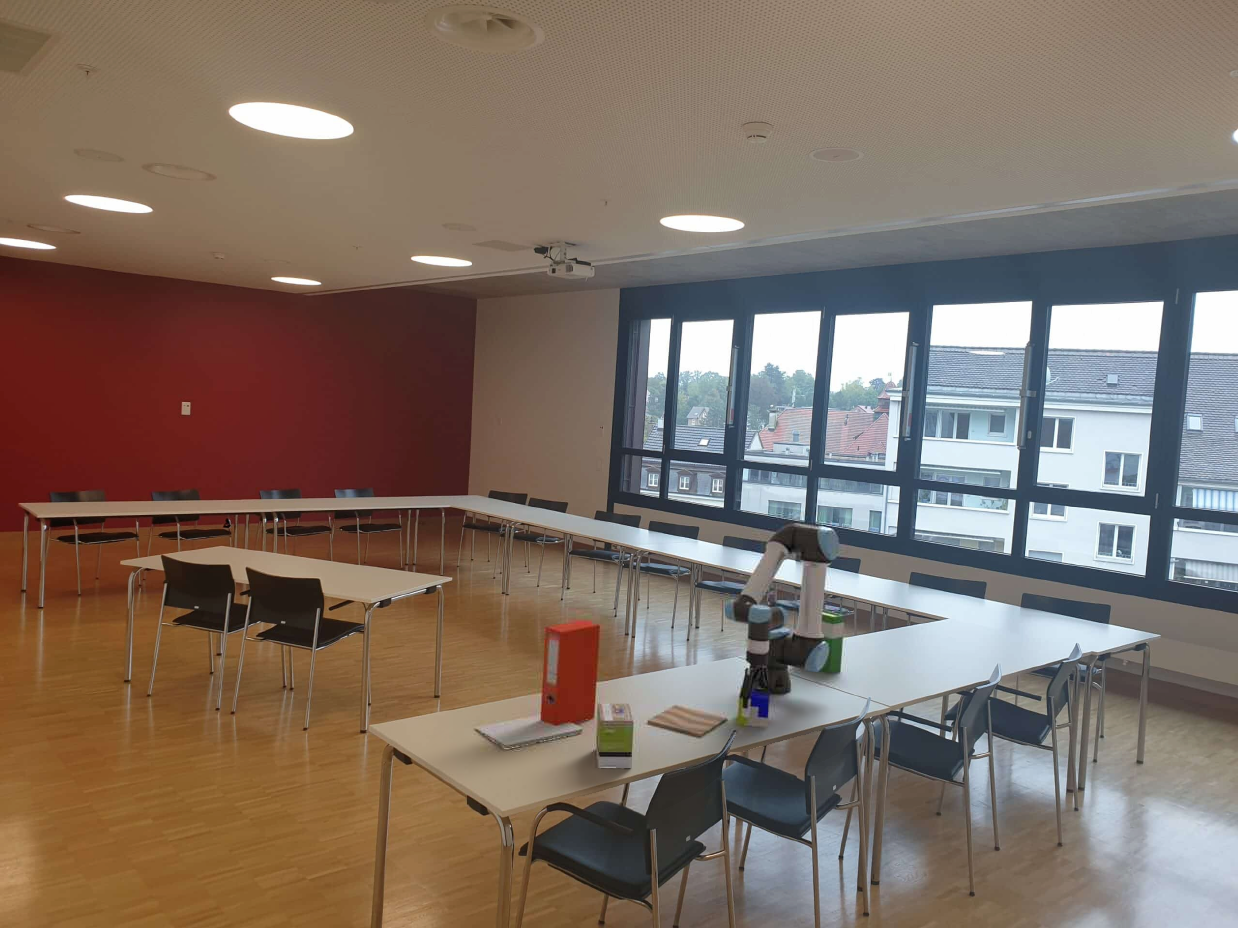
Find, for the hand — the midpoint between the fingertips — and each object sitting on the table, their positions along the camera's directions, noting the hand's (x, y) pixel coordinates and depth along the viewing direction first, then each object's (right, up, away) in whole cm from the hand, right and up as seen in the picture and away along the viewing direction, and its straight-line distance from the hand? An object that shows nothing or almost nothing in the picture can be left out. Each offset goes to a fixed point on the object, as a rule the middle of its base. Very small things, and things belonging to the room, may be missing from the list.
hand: (753, 711), depth 302 cm
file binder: (-63, 0, -9) cm, 64 cm away
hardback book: (+38, -1, +70) cm, 79 cm away
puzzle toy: (0, -3, 0) cm, 3 cm away
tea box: (-48, -3, -39) cm, 62 cm away
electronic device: (-75, -1, -21) cm, 78 cm away
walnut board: (-23, -2, -4) cm, 23 cm away
